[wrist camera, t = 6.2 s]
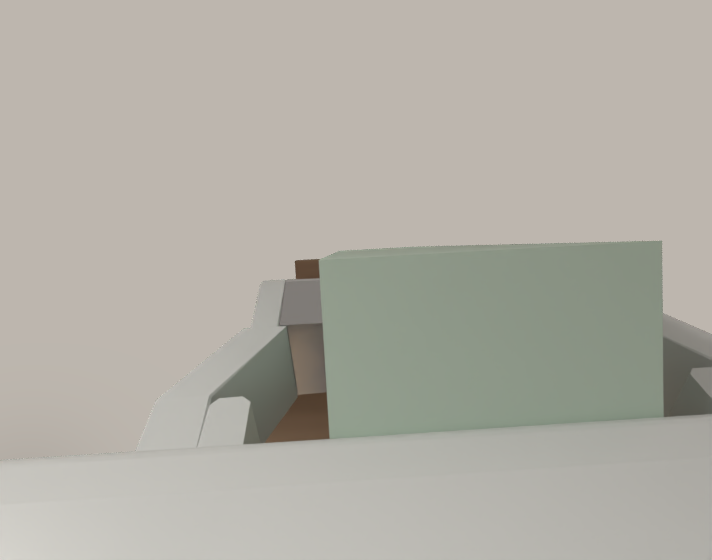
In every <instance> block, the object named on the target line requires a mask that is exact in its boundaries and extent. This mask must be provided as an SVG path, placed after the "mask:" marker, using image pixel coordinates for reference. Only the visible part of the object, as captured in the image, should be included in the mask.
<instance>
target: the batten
mask: <svg viewBox="0 0 712 560" xmlns="http://www.w3.org/2000/svg"><path fill="white" fill-rule="evenodd" d="M319 274H320V290H321V306H322V322H323V339H324V355H325V371H326V388H327V404H328V420H329V437H330V439H335V438H350V437H366V436H381V435H397V434H412V433H427V432H442V431H457V430H472V429H487V428H502V427H517V426H532V425H548V424H563V423H578V422H594V421H610V420H626V419H641V418H657V417H664V406H663V299H662V241H634V242H633V241H632V242H591V243H554V244H552V243H551V244H510V245H472V246H471V245H468V246H431V247H429V246H427V247H402V248H383V249H365V250H347V251H338V252H336V253H334V254H331V255H329V256H327V257H325V258H322V259H320V260H319Z"/></svg>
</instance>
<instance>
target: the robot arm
mask: <svg viewBox="0 0 712 560" xmlns="http://www.w3.org/2000/svg"><path fill="white" fill-rule="evenodd" d="M323 392H327V388H326V371H325V355H324V339H323V322H322V306H321V290H320V278H315V279H290V280H270V281H263V282H262V283H261V284H260V288H259V293H258V297H257V301H256V306H255V311H254V315H253V319H252V324H251V328H244V329H243V330H241V331H240V332H239V333H238V334H237V335H235V336H234V337H233V338H231V339H230V340H229V341H228V342H227V343H225V344H224V345H223V346H222V347H220V348H219V349H218V350H217V351H216V352H214V353H213V354H212V355H211V356H210V357H208V358H207V359H206V360H205V361H203V362H202V363H201V364H200V365H198V366H197V367H196V368H195V369H193V370H192V371H191V372H190V373H189V374H187V375H186V376H185V377H184V378H182V379H181V380H180V381H179V382H178V383H176V384H175V385H174V386H173V387H172V388H170V389H169V390H168V391H167V392H165V393H164V394H163V395H162V396H160V397H159V398H158V399H157V400H156V402H155V404H154V406H153V409H152V411H151V414H150V416H149V419H148V421H147V424H146V426H145V428H144V431H143V433H142V436H141V438H140V441H139V443H138V445H137V448H136V450H135V451H134V452H119V453H104V454H89V455H74V456H57V457H41V458H26V459H10V460H0V560H712V334H710V333H708V332H706V331H703V330H701V329H699V328H696V327H694V326H691V325H689V324H687V323H685V322H682V321H680V320H678V319H675V318H673V317H671V316H668V315H666V314H664V313H663V406H664V417H657V418H641V419H626V420H610V421H594V422H578V423H563V424H548V425H532V426H517V427H502V428H487V429H472V430H457V431H442V432H427V433H412V434H397V435H381V436H366V437H350V438H335V439H319V440H304V441H289V442H273V443H265V441H266V440H267V439H268V437H269V436H270V434H271V433H272V432H273V430H274V429H275V428H276V426H277V425H278V423H279V422H280V421H281V419H282V418H283V417H284V415H285V414H286V412H287V411H288V410H289V408H290V407H291V406H292V404H293V403H294V401H295V400H296V399H297V397H298V396H297V395H301V394H312V393H323Z"/></svg>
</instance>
